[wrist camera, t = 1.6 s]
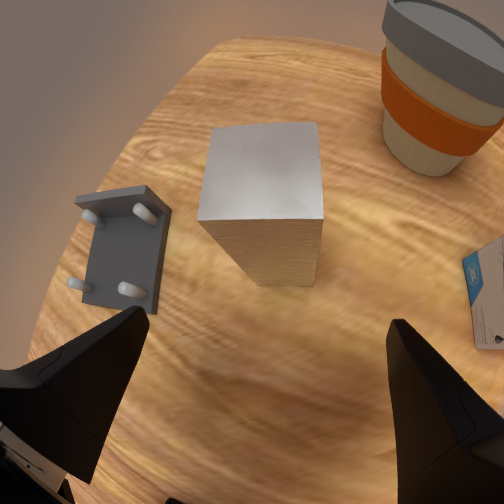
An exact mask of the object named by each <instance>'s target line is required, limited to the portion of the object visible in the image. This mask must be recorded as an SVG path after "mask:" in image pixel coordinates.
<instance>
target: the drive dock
mask: <svg viewBox="0 0 504 504" xmlns="http://www.w3.org/2000/svg"><path fill="white" fill-rule="evenodd" d="M74 203H75V204H76V205H78V206H79V207H81V208H82V209H84V211H83V213H82V218H83V219H85V220H86V221H88V222H90V223H91V224H93V225H95V226H96V227H95V231H94V235H93V240H92V244H91V249H90V254H89V259H88V264H87V270H86V276H85V281H83V280H80V279H77V278H74V277H69V278H68V280H67V285H68V287H71V288H74V289H77V290H81V291H83V296H82V303H86V304H91V305H97V306H102V307H108V308H115V309H121V310H126V309H127V308H129V307H131V306H133V305H136V306H142V307H143V308H144V310H145V312H146V313H149V314H156V315H157V307H158V298H159V289H160V281H161V273H162V266H163V259H164V252H165V246H166V240H167V234H168V228H169V222H170V217H171V211H172V210H171V209H170V208H169V207H168V206H167V205H166V204H165V203H164V202H163V201H162V200H161V199H160V198H159V197H158V196H157V195H156V194H155V193H154V192H153V191H152V190H151V189H150V188H149V187H148V186H147V185H142V186H135V187H128V188H121V189H115V190H108V191H102V192H96V193H91V194H85V195H80V196H76V200H75V202H74Z"/></svg>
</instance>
